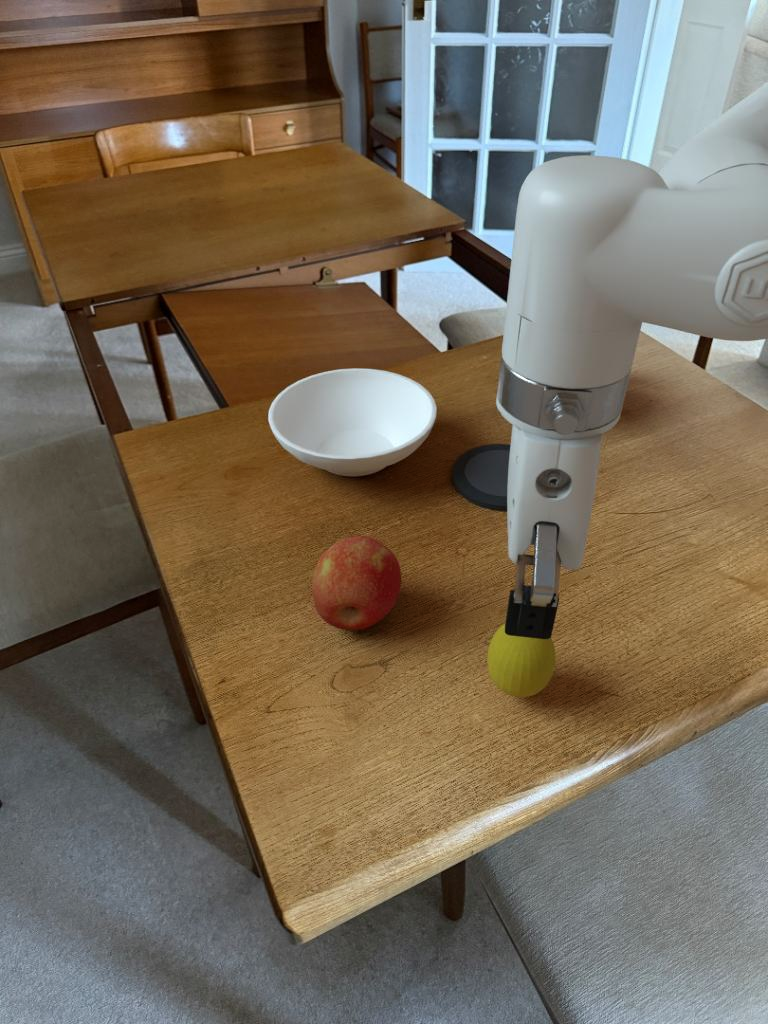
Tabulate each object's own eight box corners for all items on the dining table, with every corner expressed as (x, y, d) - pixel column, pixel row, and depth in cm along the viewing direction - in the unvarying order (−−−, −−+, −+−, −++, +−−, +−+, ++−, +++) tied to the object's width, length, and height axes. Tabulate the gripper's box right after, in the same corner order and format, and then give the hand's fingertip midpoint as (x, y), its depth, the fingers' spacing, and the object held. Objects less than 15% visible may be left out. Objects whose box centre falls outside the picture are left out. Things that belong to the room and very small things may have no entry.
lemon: (498, 722, 61) (507, 660, 56) (474, 670, 65) (480, 608, 60) (560, 707, 62) (574, 644, 57) (532, 656, 66) (543, 594, 61)
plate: (562, 458, 89) (563, 452, 89) (546, 520, 80) (547, 513, 80) (464, 442, 92) (465, 436, 92) (439, 500, 84) (440, 493, 83)
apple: (411, 594, 72) (411, 533, 67) (380, 658, 66) (378, 596, 61) (336, 574, 75) (331, 514, 70) (300, 634, 69) (291, 573, 64)
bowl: (464, 442, 92) (467, 394, 88) (377, 530, 80) (375, 479, 75) (337, 399, 101) (334, 354, 96) (241, 472, 88) (232, 424, 84)
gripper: (642, 476, 38) (585, 684, 49) (612, 325, 51) (572, 515, 62) (493, 464, 38) (470, 671, 49) (501, 318, 52) (482, 507, 63)
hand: (527, 584), depth 56 cm, fingers open, 9 cm apart
